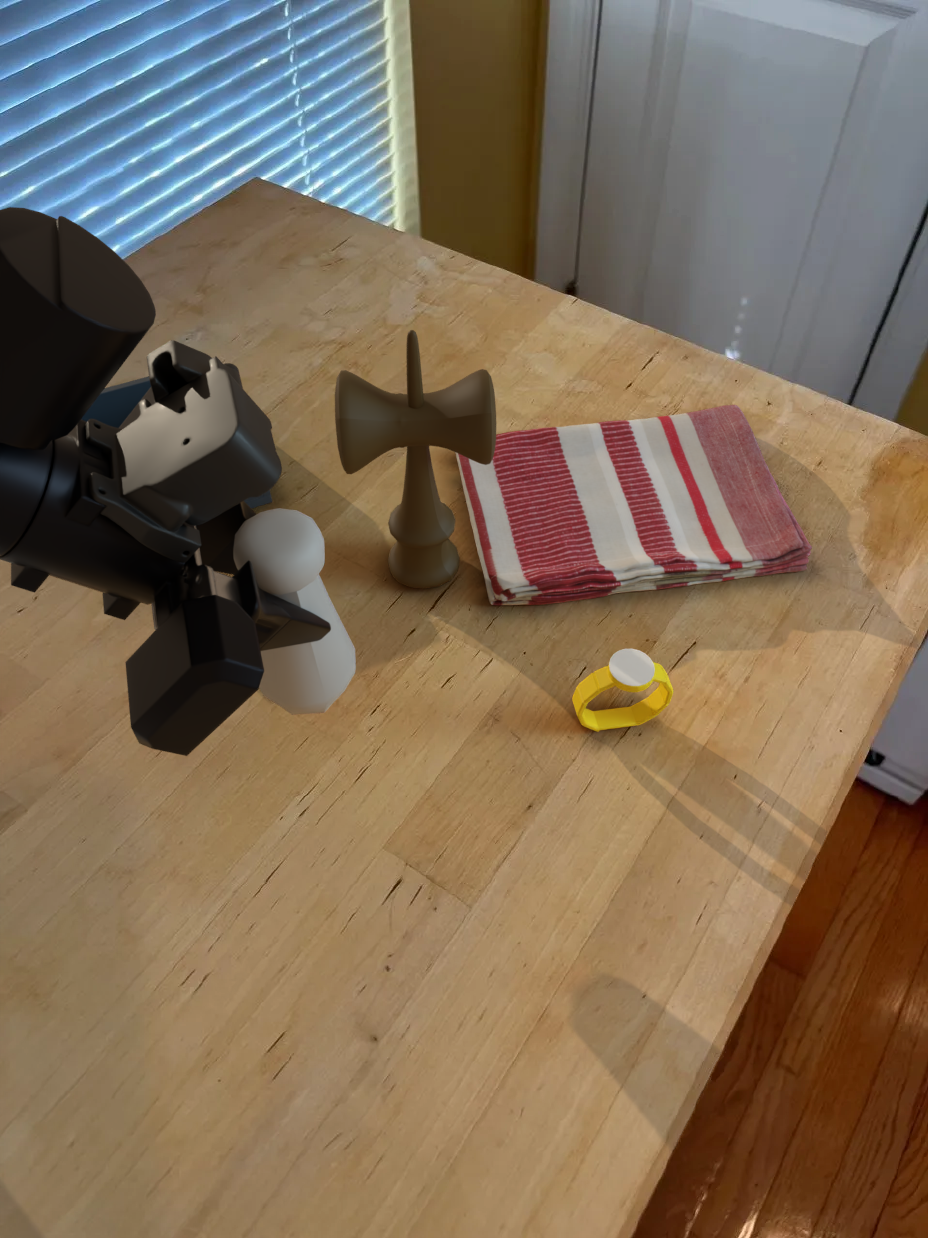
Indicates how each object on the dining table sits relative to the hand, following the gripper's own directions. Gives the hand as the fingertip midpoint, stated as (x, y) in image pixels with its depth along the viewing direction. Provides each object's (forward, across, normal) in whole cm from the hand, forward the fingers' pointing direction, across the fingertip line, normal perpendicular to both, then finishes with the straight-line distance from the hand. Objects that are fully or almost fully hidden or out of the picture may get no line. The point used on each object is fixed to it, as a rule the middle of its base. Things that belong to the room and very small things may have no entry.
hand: (318, 604), depth 49 cm
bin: (+4, +27, +15) cm, 31 cm away
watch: (+21, -4, -3) cm, 22 cm away
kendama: (+15, +12, +3) cm, 20 cm away
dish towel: (+27, +14, -8) cm, 31 cm away
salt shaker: (+4, 0, +6) cm, 7 cm away
